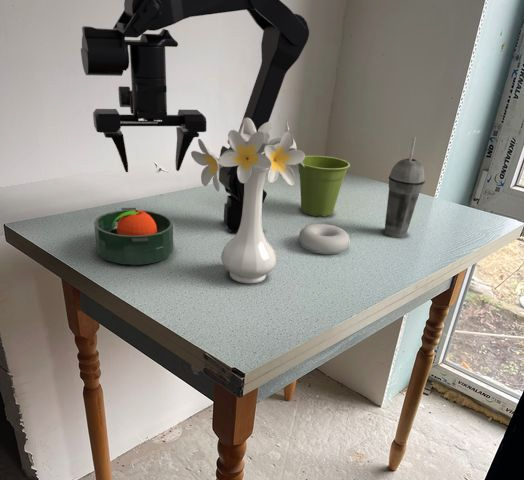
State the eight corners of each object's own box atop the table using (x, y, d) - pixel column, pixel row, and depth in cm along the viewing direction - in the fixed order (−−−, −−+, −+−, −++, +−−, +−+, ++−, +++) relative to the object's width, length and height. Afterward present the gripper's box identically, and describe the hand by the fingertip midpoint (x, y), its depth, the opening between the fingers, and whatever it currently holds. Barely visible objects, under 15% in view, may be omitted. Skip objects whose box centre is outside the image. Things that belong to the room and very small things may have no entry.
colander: (166, 236, 108) (165, 208, 105) (179, 265, 97) (179, 235, 95) (94, 239, 104) (91, 210, 101) (99, 269, 93) (97, 238, 91)
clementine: (119, 259, 96) (117, 219, 92) (107, 245, 101) (104, 206, 97) (163, 253, 100) (162, 214, 96) (149, 239, 105) (148, 202, 101)
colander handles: (135, 211, 105) (135, 207, 105) (148, 244, 92) (148, 240, 92) (121, 211, 104) (121, 207, 104) (132, 245, 91) (132, 241, 91)
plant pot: (345, 208, 132) (353, 159, 126) (338, 224, 122) (346, 171, 116) (296, 200, 134) (301, 152, 128) (285, 215, 124) (291, 163, 118)
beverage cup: (415, 232, 121) (437, 135, 111) (408, 242, 116) (431, 141, 105) (382, 225, 124) (401, 130, 113) (374, 234, 118) (393, 135, 107)
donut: (342, 261, 105) (352, 243, 113) (345, 244, 103) (355, 226, 111) (291, 251, 107) (305, 233, 115) (293, 234, 105) (307, 217, 113)
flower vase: (179, 279, 93) (179, 118, 79) (256, 253, 105) (267, 109, 91) (234, 308, 86) (244, 137, 72) (310, 277, 97) (330, 125, 84)
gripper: (192, 71, 103) (192, 158, 111) (86, 68, 97) (95, 160, 105) (207, 80, 94) (206, 174, 102) (92, 77, 88) (101, 177, 96)
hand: (152, 171), depth 102 cm, fingers open, 9 cm apart
